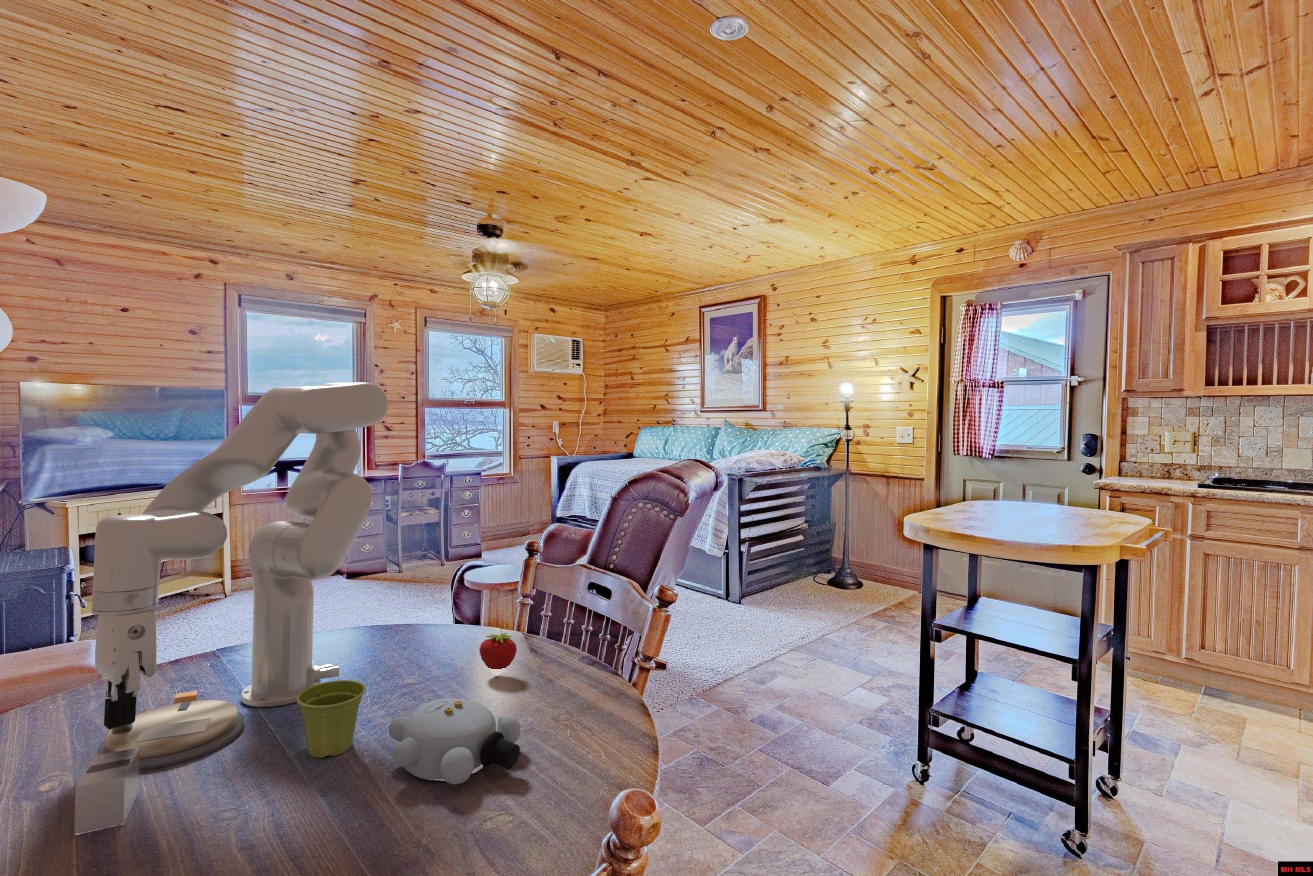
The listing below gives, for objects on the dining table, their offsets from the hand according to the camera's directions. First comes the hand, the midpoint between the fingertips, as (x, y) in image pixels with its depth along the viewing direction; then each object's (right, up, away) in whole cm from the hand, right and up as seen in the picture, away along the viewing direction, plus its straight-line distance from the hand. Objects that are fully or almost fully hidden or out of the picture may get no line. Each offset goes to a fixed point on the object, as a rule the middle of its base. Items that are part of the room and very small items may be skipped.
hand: (119, 724), depth 90 cm
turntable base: (+3, -5, +7) cm, 9 cm away
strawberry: (+47, -6, +34) cm, 58 cm away
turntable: (+4, -4, +6) cm, 8 cm away
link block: (+10, -5, -13) cm, 17 cm away
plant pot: (+29, -6, +4) cm, 30 cm away
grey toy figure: (+49, -7, +1) cm, 50 cm away
